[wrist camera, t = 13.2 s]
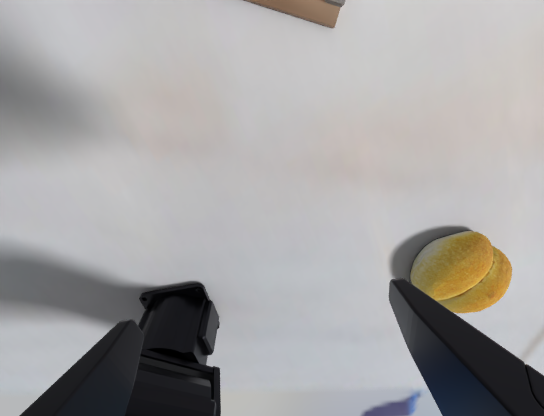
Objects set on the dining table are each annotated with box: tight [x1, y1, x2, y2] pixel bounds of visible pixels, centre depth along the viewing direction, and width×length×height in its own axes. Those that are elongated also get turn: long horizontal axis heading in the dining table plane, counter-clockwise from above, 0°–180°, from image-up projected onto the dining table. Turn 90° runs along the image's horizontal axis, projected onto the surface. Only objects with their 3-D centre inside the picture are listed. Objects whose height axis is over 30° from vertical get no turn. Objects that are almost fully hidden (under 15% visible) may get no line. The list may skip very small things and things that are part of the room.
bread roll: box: [410, 231, 512, 313], centre depth 25 cm, size 8×9×4 cm
